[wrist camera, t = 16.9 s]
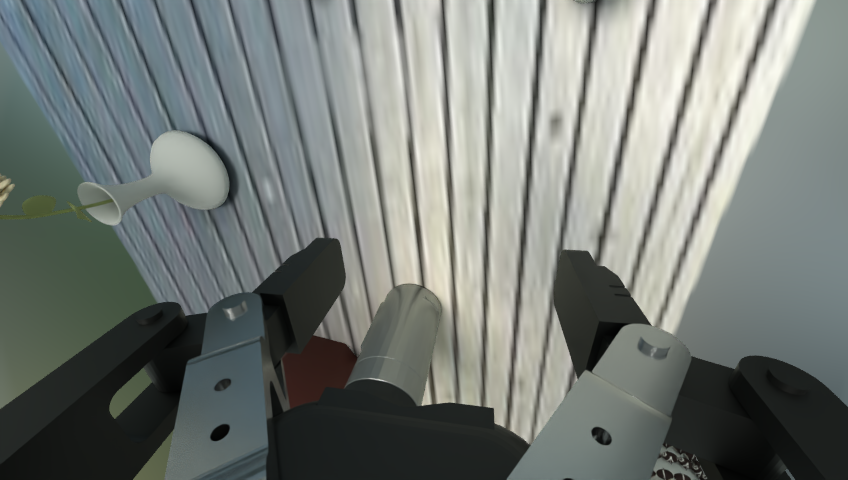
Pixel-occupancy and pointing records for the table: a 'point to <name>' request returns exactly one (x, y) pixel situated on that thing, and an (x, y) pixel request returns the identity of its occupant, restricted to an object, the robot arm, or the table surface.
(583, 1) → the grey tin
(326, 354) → the brown flower pot
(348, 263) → the table surface
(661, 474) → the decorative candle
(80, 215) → the flower in vase
